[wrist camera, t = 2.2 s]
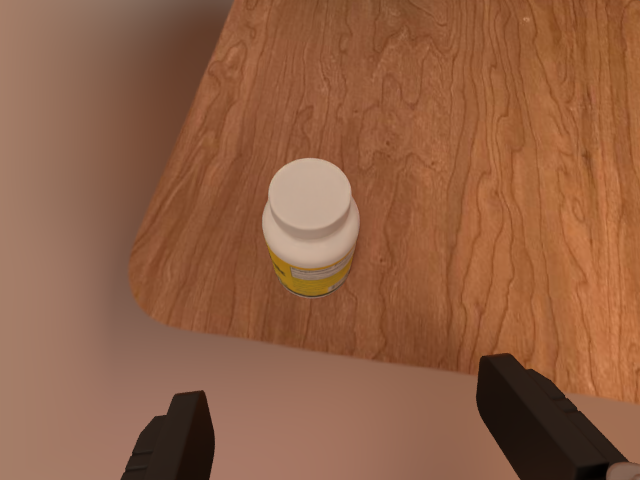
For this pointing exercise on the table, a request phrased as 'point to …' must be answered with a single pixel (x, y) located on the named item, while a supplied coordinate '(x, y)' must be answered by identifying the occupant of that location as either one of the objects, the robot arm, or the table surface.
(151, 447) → the robot arm
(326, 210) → the supplement bottle
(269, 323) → the table surface
